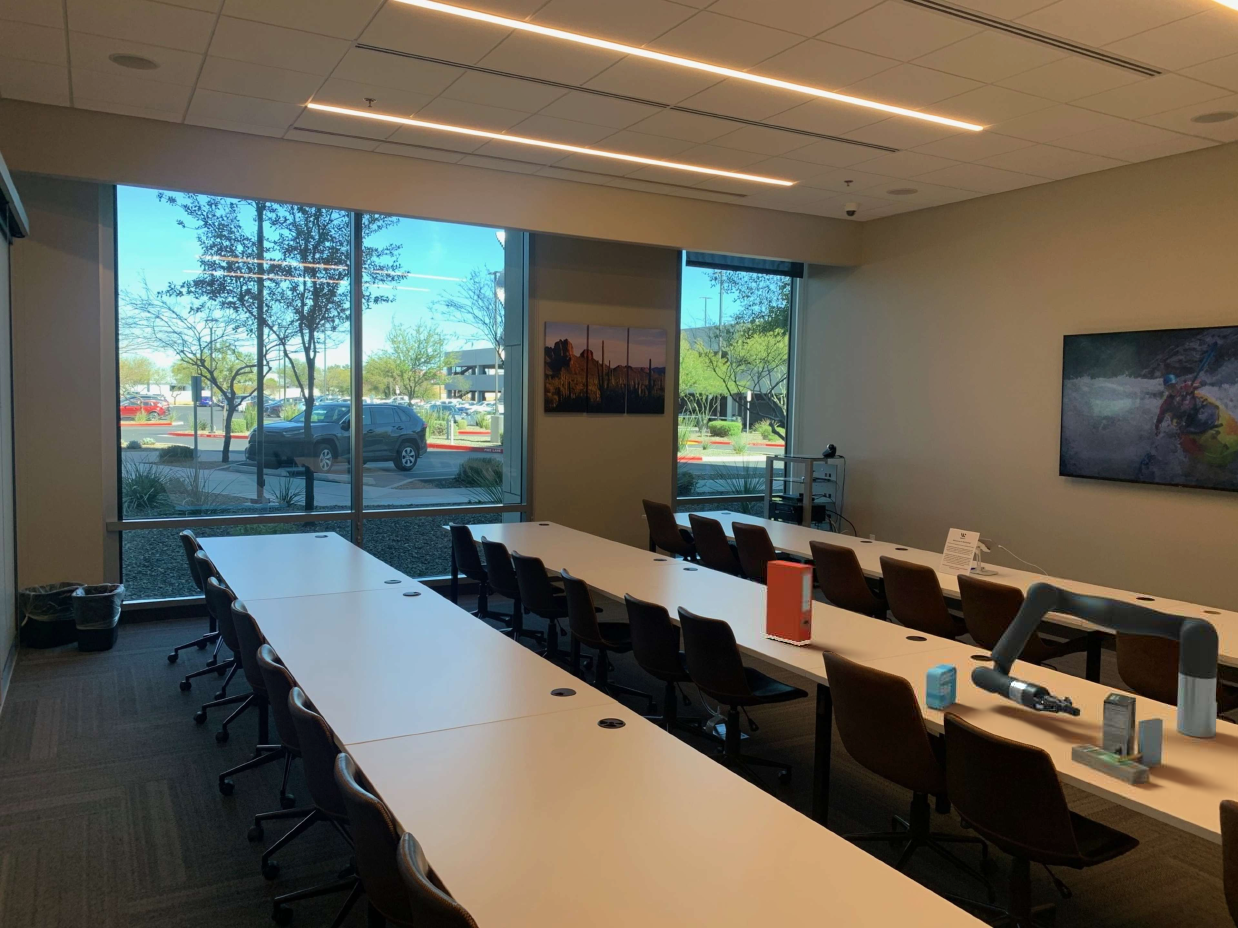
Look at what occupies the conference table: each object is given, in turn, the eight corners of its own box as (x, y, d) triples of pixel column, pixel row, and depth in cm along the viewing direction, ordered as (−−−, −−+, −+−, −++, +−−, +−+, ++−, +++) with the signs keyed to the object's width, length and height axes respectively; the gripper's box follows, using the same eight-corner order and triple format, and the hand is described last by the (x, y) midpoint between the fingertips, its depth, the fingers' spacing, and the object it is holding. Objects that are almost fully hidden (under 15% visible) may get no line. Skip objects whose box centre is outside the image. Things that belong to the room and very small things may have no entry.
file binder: (778, 635, 374) (780, 559, 372) (811, 643, 361) (812, 565, 359) (765, 638, 369) (767, 561, 367) (798, 646, 356) (799, 567, 354)
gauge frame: (1087, 756, 242) (1088, 743, 242) (1148, 781, 225) (1149, 767, 225) (1071, 759, 240) (1071, 745, 239) (1132, 785, 223) (1132, 770, 223)
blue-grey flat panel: (1155, 762, 235) (1157, 717, 235) (1161, 764, 234) (1162, 719, 233) (1113, 770, 229) (1115, 725, 229) (1118, 773, 228) (1120, 727, 227)
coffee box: (1108, 749, 247) (1110, 691, 246) (1135, 754, 243) (1137, 696, 242) (1100, 758, 240) (1102, 699, 240) (1127, 764, 236) (1129, 704, 235)
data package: (938, 710, 279) (939, 673, 278) (925, 707, 282) (926, 670, 282) (956, 702, 287) (957, 665, 287) (942, 699, 291) (943, 662, 290)
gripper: (1013, 684, 266) (1061, 702, 250) (1045, 680, 271) (1095, 697, 255) (1012, 709, 267) (1060, 728, 251) (1045, 704, 272) (1094, 722, 256)
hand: (1078, 712), depth 253 cm, fingers closed
